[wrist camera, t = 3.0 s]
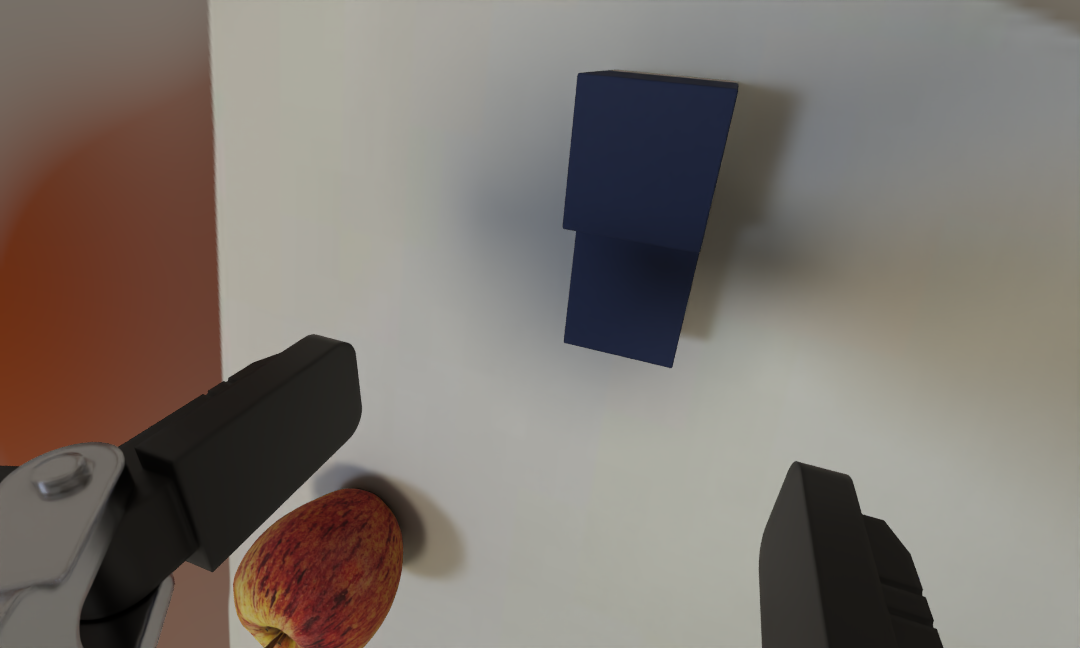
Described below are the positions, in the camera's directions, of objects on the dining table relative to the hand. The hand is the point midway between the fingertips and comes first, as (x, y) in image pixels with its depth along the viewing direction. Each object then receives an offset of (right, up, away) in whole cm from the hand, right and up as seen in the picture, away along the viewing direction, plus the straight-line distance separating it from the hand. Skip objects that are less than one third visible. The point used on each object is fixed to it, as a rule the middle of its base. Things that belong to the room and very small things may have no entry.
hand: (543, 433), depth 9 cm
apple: (-12, -11, +27) cm, 31 cm away
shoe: (+4, +6, +12) cm, 14 cm away
